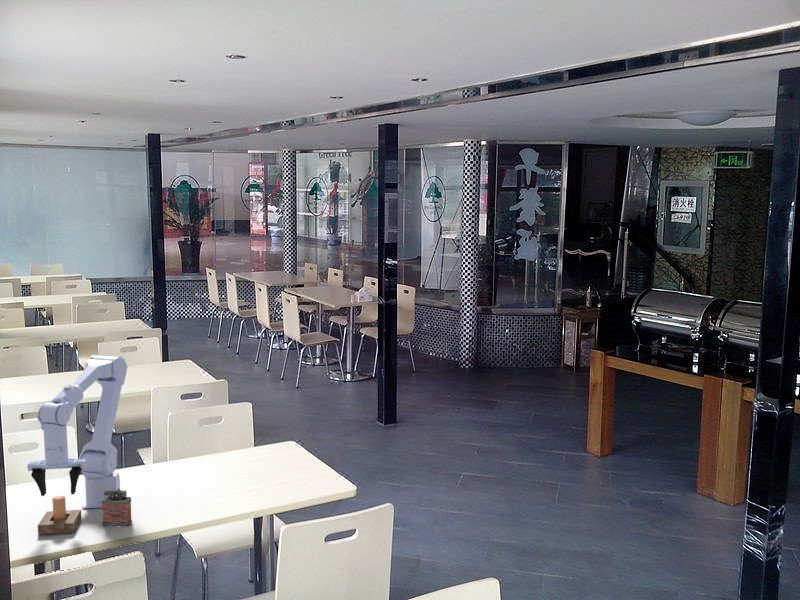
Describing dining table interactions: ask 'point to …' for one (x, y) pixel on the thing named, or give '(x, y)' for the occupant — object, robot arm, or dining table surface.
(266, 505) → the dining table surface
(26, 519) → the dining table surface
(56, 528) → the hole block
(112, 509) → the lighter
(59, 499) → the pin
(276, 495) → the dining table surface
